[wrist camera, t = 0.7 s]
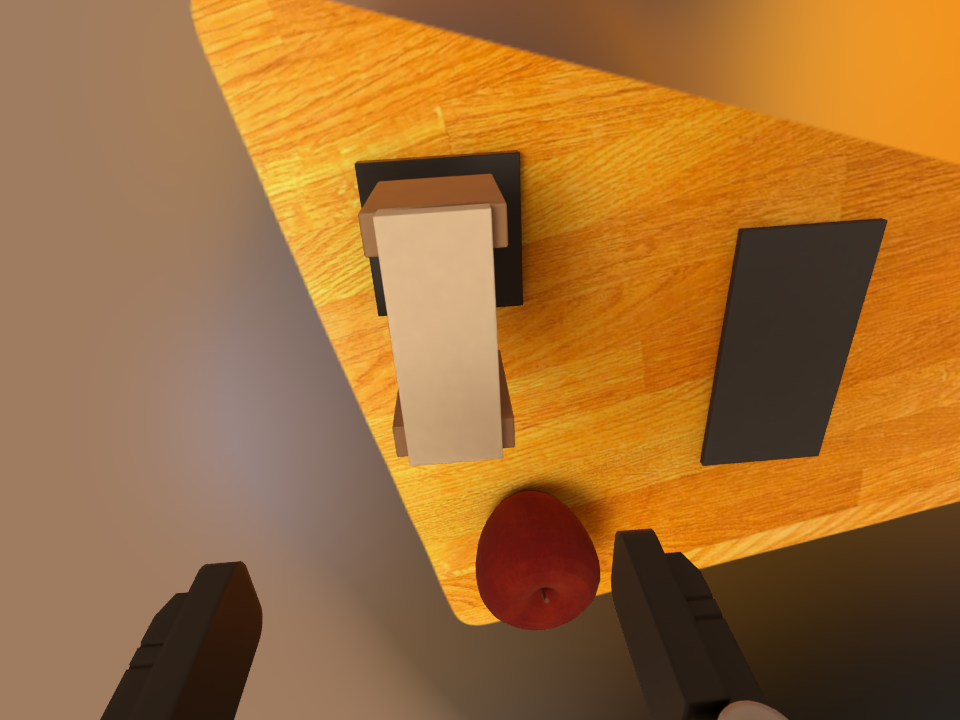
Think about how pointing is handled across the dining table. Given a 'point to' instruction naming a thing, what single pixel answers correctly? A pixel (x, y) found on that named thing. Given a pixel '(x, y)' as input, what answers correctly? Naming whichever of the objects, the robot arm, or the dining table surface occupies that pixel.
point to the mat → (787, 337)
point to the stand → (495, 163)
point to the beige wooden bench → (442, 314)
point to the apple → (536, 563)
